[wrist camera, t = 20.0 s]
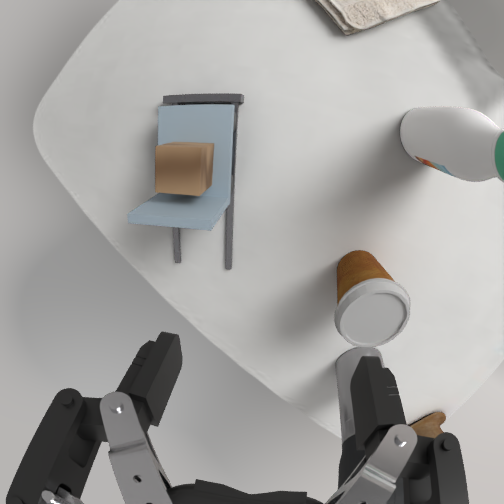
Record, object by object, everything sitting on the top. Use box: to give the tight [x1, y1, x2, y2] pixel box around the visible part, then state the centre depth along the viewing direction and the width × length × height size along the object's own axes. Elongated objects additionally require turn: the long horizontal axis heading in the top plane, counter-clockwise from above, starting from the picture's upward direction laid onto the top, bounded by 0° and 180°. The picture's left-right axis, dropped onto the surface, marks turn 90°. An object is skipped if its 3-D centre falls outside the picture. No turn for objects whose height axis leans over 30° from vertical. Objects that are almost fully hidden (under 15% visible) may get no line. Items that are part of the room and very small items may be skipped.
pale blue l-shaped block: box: [127, 104, 237, 231], centre depth 29 cm, size 12×9×12 cm
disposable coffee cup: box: [335, 250, 410, 348], centre depth 35 cm, size 10×10×12 cm
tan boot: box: [410, 412, 446, 438], centre depth 51 cm, size 15×12×15 cm
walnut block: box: [155, 142, 214, 196], centre depth 30 cm, size 5×5×5 cm
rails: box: [163, 94, 244, 269], centre depth 37 cm, size 24×10×2 cm, turn 177°
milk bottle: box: [400, 106, 504, 182], centre depth 21 cm, size 8×8×20 cm
